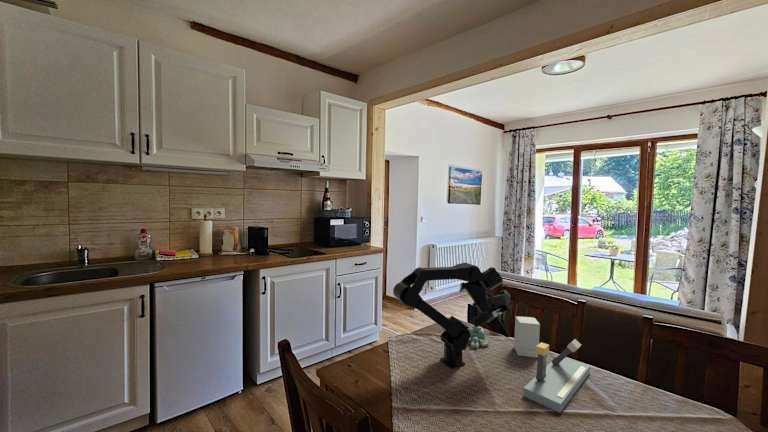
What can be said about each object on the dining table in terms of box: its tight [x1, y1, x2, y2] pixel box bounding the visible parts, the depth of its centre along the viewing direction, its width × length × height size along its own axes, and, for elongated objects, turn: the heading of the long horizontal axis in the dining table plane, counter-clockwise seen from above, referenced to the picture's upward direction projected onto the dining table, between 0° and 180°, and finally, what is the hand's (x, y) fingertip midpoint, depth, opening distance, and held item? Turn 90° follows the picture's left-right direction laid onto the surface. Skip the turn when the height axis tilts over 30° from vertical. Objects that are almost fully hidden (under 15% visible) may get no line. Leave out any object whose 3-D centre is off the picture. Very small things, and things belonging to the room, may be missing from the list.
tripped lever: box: [535, 341, 550, 382], centre depth 98 cm, size 2×4×11 cm, turn 134°
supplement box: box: [513, 315, 541, 359], centre depth 122 cm, size 7×7×13 cm
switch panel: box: [522, 354, 591, 413], centre depth 101 cm, size 10×30×3 cm, turn 134°
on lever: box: [551, 338, 582, 366], centre depth 106 cm, size 2×4×11 cm
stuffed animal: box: [467, 325, 491, 349], centre depth 129 cm, size 11×7×12 cm
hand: (508, 336), depth 106 cm, fingers closed
